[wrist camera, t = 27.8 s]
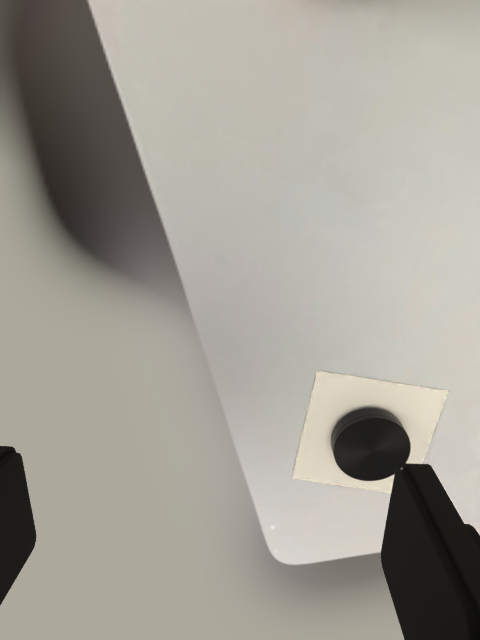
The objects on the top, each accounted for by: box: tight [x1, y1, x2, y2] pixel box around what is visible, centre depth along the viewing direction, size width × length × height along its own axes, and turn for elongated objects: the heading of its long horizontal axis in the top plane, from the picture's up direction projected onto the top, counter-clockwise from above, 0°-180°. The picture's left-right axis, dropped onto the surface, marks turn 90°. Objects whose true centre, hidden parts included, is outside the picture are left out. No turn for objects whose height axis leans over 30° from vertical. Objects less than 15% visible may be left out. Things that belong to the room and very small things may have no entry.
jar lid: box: [331, 408, 411, 481], centre depth 39 cm, size 7×7×2 cm
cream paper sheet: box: [292, 371, 449, 493], centre depth 40 cm, size 12×12×2 cm
